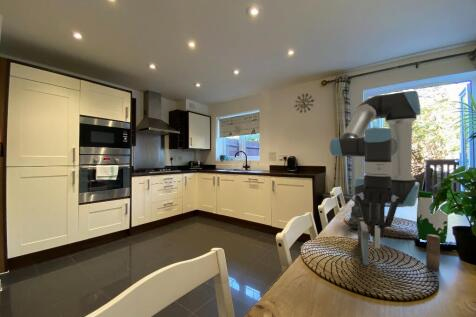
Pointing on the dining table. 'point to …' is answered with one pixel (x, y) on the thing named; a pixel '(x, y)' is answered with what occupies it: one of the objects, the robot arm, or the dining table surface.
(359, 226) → the hinge post
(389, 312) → the dining table surface
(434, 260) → the post
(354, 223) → the salt shaker
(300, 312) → the dining table surface
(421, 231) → the milk carton
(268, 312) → the dining table surface
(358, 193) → the robot arm
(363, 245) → the gate
